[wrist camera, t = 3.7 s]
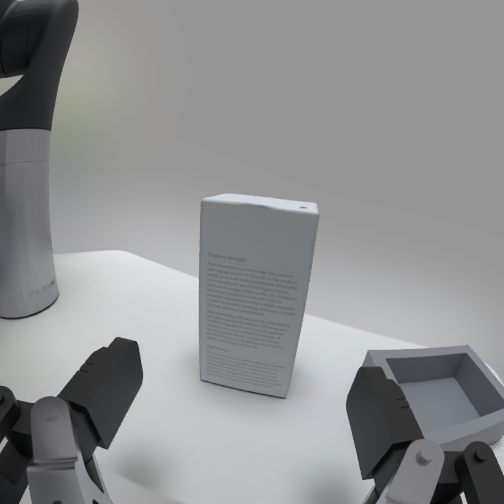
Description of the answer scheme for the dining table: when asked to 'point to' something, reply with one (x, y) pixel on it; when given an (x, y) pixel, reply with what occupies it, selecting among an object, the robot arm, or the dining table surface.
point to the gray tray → (447, 393)
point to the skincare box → (253, 289)
